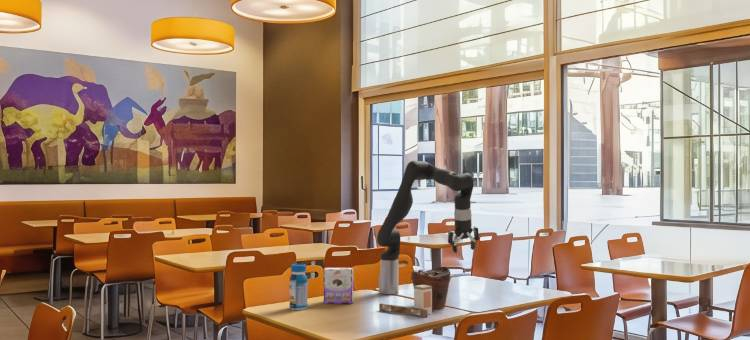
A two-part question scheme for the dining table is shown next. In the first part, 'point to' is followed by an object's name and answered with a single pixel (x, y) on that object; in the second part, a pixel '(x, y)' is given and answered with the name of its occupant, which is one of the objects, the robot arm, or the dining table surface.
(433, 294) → the brown round rimmed container
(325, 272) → the candy box
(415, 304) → the sugar carton
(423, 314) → the rail
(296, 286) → the beverage bottle
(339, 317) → the dining table surface
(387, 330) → the dining table surface
